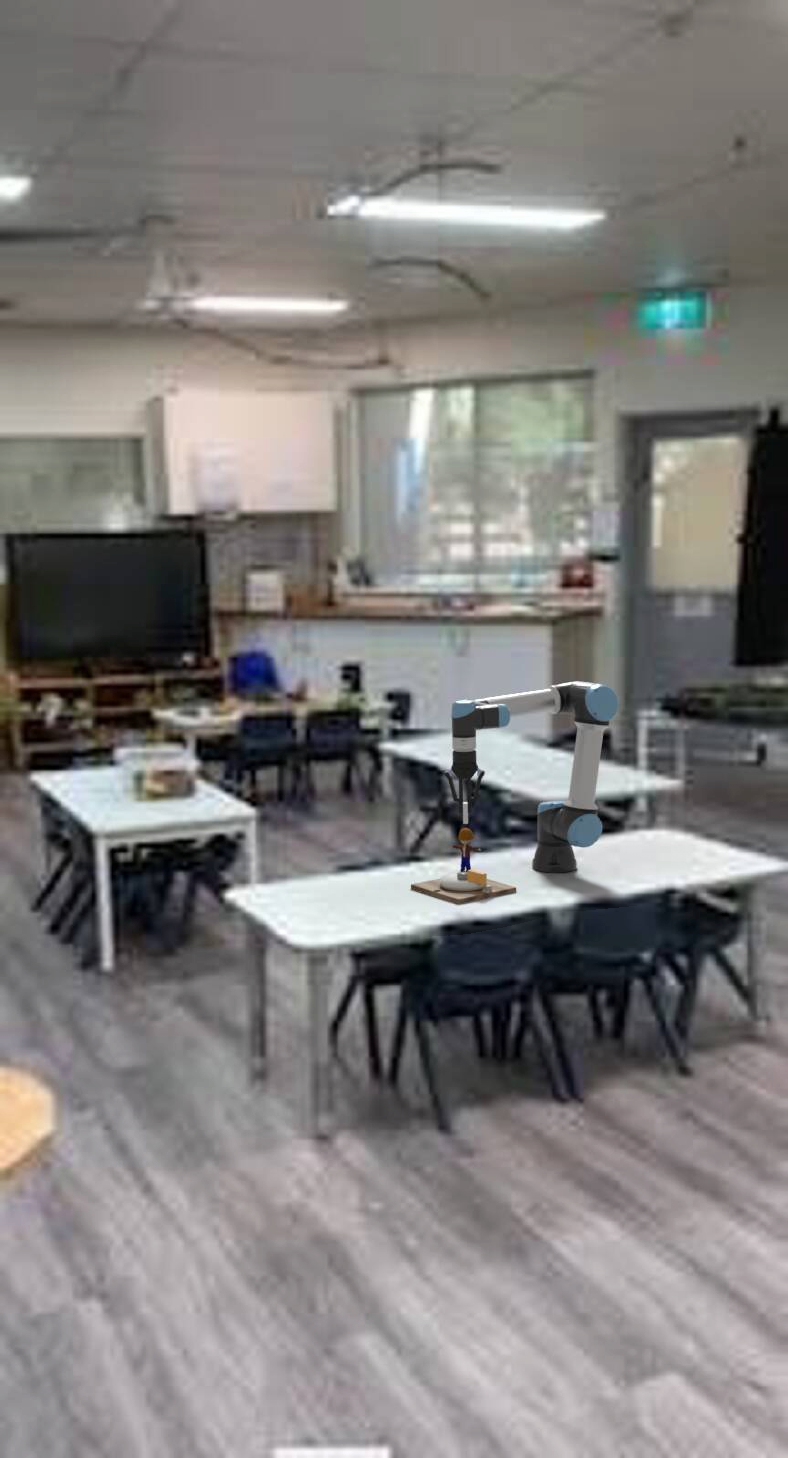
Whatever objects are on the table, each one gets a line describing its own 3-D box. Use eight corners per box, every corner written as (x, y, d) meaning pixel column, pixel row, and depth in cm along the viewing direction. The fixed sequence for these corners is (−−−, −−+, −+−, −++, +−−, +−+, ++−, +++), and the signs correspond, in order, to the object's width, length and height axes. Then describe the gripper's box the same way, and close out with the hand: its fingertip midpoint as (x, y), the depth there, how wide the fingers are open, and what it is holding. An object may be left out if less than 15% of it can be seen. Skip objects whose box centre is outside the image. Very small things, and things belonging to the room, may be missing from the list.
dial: (430, 884, 463) (430, 867, 462) (465, 877, 472) (465, 860, 472) (466, 894, 450) (466, 877, 449) (501, 887, 459) (501, 870, 458)
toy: (447, 871, 487) (447, 828, 485) (454, 868, 492) (454, 825, 490) (477, 875, 482) (477, 831, 480) (483, 871, 487) (483, 828, 485)
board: (467, 877, 479) (467, 867, 478) (516, 891, 460) (516, 881, 459) (410, 888, 464) (410, 878, 464) (458, 904, 446) (458, 893, 445)
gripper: (443, 752, 451) (444, 825, 455) (484, 751, 450) (486, 825, 454) (444, 748, 459) (445, 820, 462) (485, 747, 458) (486, 820, 461)
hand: (465, 822), depth 458 cm, fingers closed
